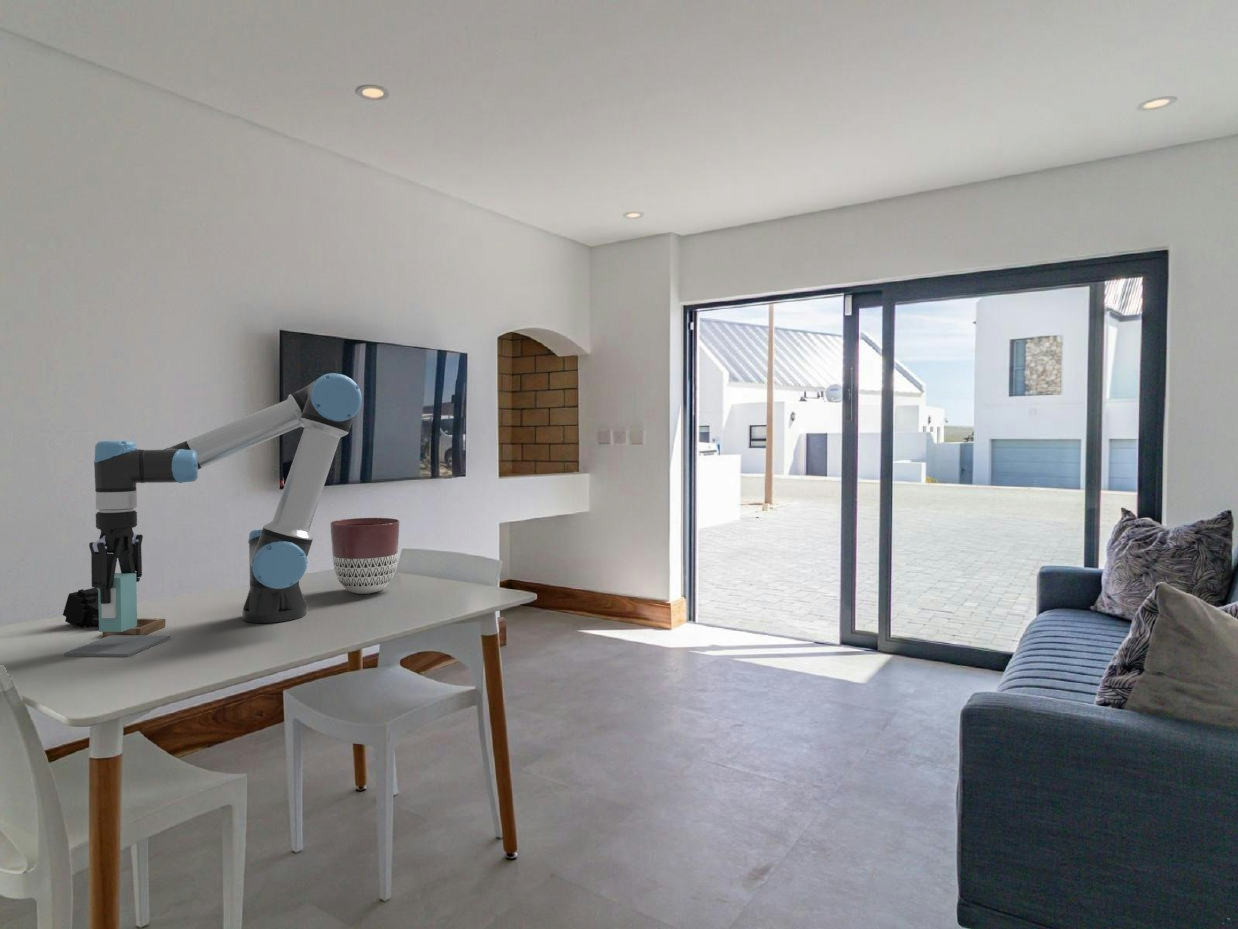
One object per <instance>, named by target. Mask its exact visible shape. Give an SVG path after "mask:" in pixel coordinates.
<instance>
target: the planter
mask: <svg viewBox="0 0 1238 929" xmlns="http://www.w3.org/2000/svg"><path fill="white" fill-rule="evenodd" d="M330 537H331V540H330V541H331V555H332V566H333V567H332V568H333V571H334V575H335V577H336V580H337V582H338V583H339V584H340V585H341V586H342V587H343V588H344V589H345V590H347V591H349V592H350V593H354V594H357V595H368V594H375V593H377V592H379V591H382V590H383V589H384V588H385V587H387V586H388V585H389V583H391V581H392V580H393V578H394V576H395V574H396V570H397V565H398V556H399V538H400V520H399V519H395V518H390V517H389V518H388V517H360V518H357V517H356V518H346V519H345V518H344V519H338V520H334V521H331V522H330Z"/></svg>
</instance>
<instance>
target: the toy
mask: <svg viewBox="0 0 1238 929" xmlns="http://www.w3.org/2000/svg"><path fill="white" fill-rule="evenodd" d="M62 616H64V617H65V619H64V620H65V622H66V623H68V624H70V625H72V626H74V627H76V628H78V627H83V628H86V627H89V626H96V625H98V626H99V604H98V589H95V588H93V587H91V588H87V589H84V588H82V589H78V591H74V592H70V593H68V596H67V599H66V602H65V606H64V609H63V613H62Z"/></svg>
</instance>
